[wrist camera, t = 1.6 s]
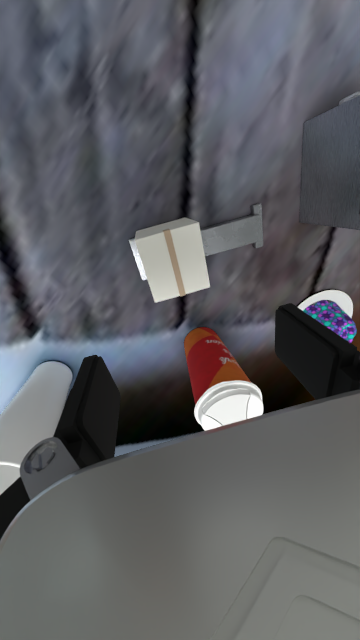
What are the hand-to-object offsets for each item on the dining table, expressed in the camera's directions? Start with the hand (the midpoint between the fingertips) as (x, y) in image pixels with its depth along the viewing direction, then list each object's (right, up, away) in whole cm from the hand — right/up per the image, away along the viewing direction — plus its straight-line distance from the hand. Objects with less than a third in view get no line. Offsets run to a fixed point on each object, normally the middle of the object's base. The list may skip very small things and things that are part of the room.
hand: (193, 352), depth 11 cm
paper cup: (+3, -2, +23) cm, 24 cm away
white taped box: (-2, +10, +16) cm, 19 cm away
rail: (+2, +11, +16) cm, 20 cm away
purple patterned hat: (+22, +2, +26) cm, 34 cm away
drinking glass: (-20, -6, +22) cm, 30 cm away
